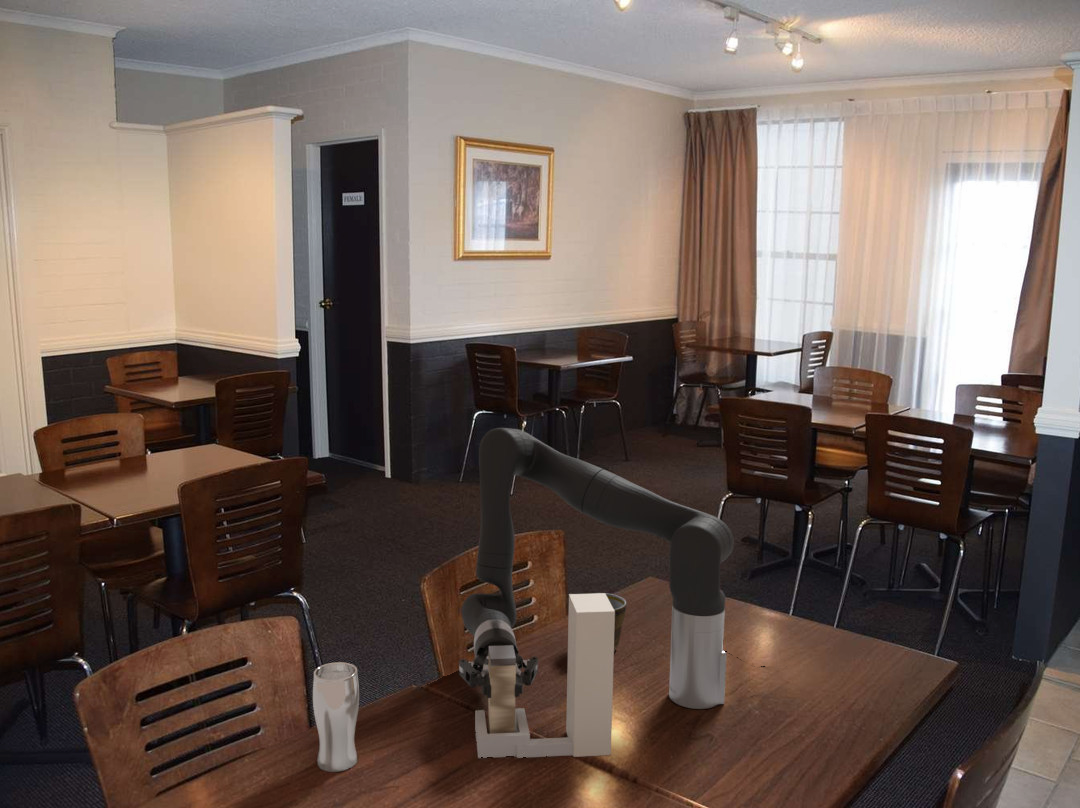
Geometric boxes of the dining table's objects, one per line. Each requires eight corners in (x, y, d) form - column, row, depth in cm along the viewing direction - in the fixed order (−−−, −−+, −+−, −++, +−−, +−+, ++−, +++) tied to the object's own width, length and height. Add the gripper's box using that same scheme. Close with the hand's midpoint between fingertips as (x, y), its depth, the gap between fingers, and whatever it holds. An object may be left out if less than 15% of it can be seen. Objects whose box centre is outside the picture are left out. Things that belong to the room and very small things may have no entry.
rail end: (512, 724, 154) (513, 645, 152) (514, 740, 149) (515, 658, 147) (488, 725, 154) (488, 646, 152) (490, 741, 149) (490, 659, 147)
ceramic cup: (593, 634, 196) (594, 589, 194) (634, 646, 190) (635, 599, 189) (558, 655, 186) (558, 607, 184) (600, 668, 180) (601, 618, 178)
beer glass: (349, 776, 141) (347, 683, 138) (306, 770, 142) (304, 678, 140) (366, 753, 147) (365, 663, 145) (325, 748, 149) (324, 659, 147)
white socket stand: (599, 724, 158) (602, 589, 154) (610, 754, 148) (614, 611, 144) (475, 730, 155) (475, 592, 152) (478, 761, 145) (479, 615, 142)
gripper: (455, 628, 163) (458, 671, 146) (535, 626, 165) (548, 668, 148) (455, 668, 164) (458, 716, 147) (535, 665, 166) (547, 712, 149)
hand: (503, 691), depth 148 cm, fingers closed on rail end, 4 cm apart
